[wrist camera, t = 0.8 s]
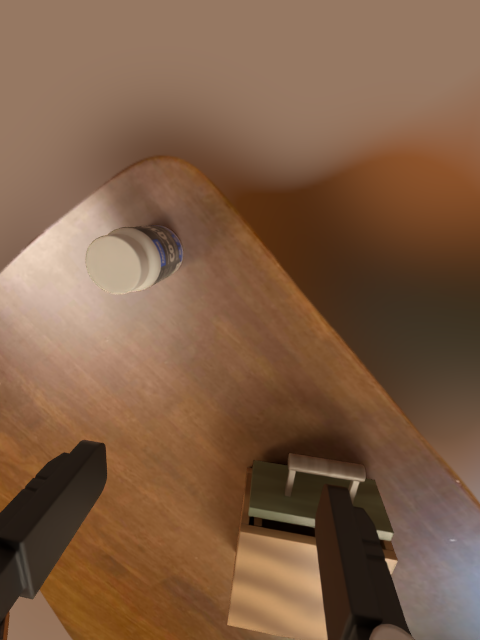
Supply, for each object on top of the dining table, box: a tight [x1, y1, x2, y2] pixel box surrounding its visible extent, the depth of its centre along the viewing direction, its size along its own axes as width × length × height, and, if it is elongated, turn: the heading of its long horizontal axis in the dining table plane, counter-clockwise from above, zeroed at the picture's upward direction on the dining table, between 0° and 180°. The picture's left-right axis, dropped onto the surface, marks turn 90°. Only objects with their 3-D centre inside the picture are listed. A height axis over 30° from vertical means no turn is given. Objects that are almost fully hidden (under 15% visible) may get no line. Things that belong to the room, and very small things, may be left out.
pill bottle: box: [86, 225, 183, 294], centre depth 24 cm, size 5×5×8 cm
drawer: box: [248, 453, 394, 541], centre depth 32 cm, size 20×13×6 cm
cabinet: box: [227, 468, 398, 640], centre depth 34 cm, size 16×15×8 cm
